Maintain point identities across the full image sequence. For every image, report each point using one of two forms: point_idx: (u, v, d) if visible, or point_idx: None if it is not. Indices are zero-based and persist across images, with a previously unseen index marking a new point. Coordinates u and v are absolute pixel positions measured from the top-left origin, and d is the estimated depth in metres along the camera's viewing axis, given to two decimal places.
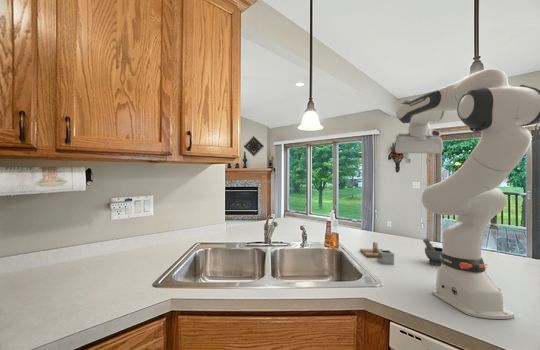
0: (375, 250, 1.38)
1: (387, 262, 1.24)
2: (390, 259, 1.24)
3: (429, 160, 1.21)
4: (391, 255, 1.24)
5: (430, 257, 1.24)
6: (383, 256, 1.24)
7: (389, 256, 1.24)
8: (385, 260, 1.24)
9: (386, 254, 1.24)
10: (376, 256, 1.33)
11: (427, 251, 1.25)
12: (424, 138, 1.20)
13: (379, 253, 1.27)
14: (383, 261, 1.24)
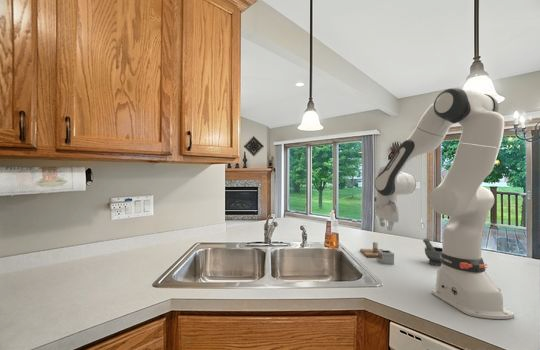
0: (375, 250, 1.38)
1: (387, 262, 1.24)
2: (390, 259, 1.24)
3: None
4: (391, 255, 1.24)
5: (430, 257, 1.24)
6: (383, 256, 1.24)
7: (389, 256, 1.24)
8: (385, 260, 1.24)
9: (386, 254, 1.24)
10: (376, 256, 1.33)
11: (427, 251, 1.25)
12: None
13: (379, 253, 1.27)
14: (383, 261, 1.24)
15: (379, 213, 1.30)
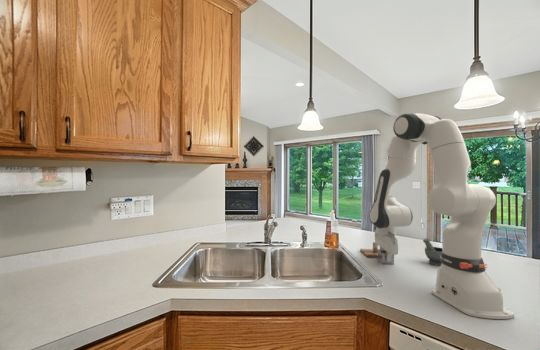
0: (375, 250, 1.38)
1: (387, 262, 1.24)
2: None
3: None
4: None
5: (430, 257, 1.24)
6: (383, 256, 1.24)
7: None
8: (385, 260, 1.24)
9: (386, 254, 1.24)
10: (376, 256, 1.33)
11: (427, 251, 1.25)
12: None
13: (379, 253, 1.27)
14: (383, 261, 1.24)
15: (379, 243, 1.30)
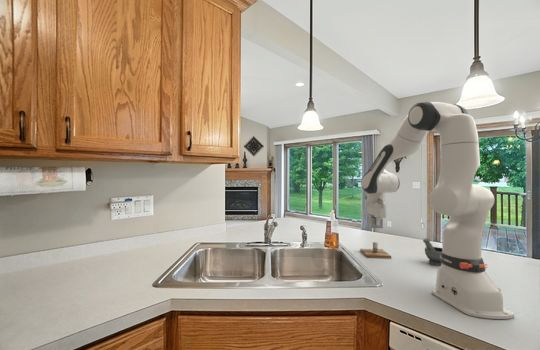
0: (375, 250, 1.38)
1: (376, 226, 1.36)
2: None
3: None
4: None
5: (430, 257, 1.24)
6: (373, 221, 1.36)
7: None
8: (375, 224, 1.36)
9: (375, 219, 1.36)
10: (376, 256, 1.33)
11: (427, 251, 1.25)
12: None
13: (369, 219, 1.39)
14: (373, 225, 1.36)
15: (370, 210, 1.42)
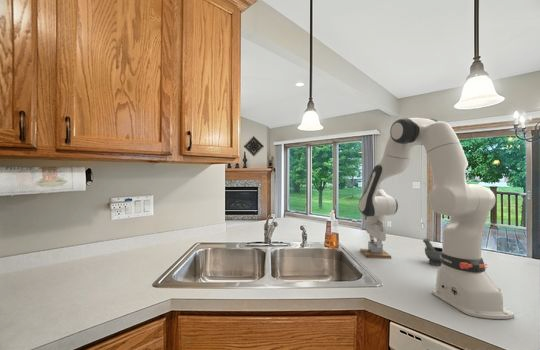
0: None
1: (376, 252, 1.36)
2: (379, 249, 1.36)
3: None
4: None
5: (430, 257, 1.24)
6: (372, 247, 1.36)
7: None
8: (375, 250, 1.36)
9: (375, 245, 1.36)
10: (376, 256, 1.33)
11: (427, 251, 1.25)
12: None
13: (369, 244, 1.39)
14: (372, 251, 1.36)
15: (369, 231, 1.42)
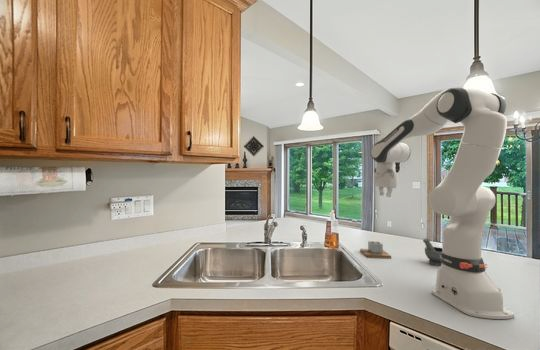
0: None
1: (376, 252, 1.36)
2: (379, 249, 1.36)
3: None
4: (380, 246, 1.36)
5: (430, 257, 1.24)
6: (372, 247, 1.36)
7: (378, 247, 1.36)
8: (375, 250, 1.36)
9: (375, 245, 1.36)
10: (376, 256, 1.33)
11: (427, 251, 1.25)
12: None
13: (369, 244, 1.39)
14: (372, 251, 1.36)
15: (379, 183, 1.40)
